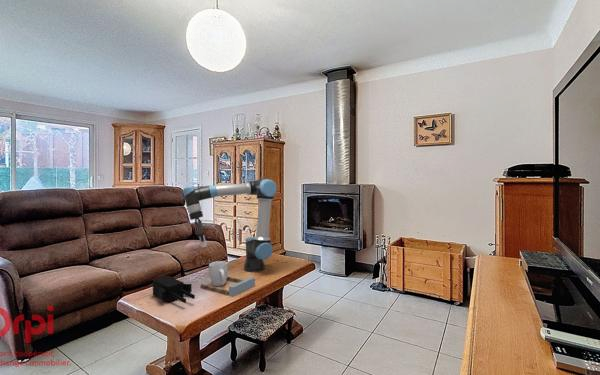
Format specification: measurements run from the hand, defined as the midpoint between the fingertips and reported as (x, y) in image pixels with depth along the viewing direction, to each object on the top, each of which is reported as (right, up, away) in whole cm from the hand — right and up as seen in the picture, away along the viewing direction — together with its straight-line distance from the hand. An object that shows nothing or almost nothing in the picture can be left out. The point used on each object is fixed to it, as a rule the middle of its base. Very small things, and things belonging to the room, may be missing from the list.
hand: (204, 246), depth 176 cm
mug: (+8, -25, +5) cm, 27 cm away
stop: (+24, -25, -6) cm, 35 cm away
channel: (+12, -25, +2) cm, 28 cm away
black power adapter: (-10, -26, -17) cm, 33 cm away
